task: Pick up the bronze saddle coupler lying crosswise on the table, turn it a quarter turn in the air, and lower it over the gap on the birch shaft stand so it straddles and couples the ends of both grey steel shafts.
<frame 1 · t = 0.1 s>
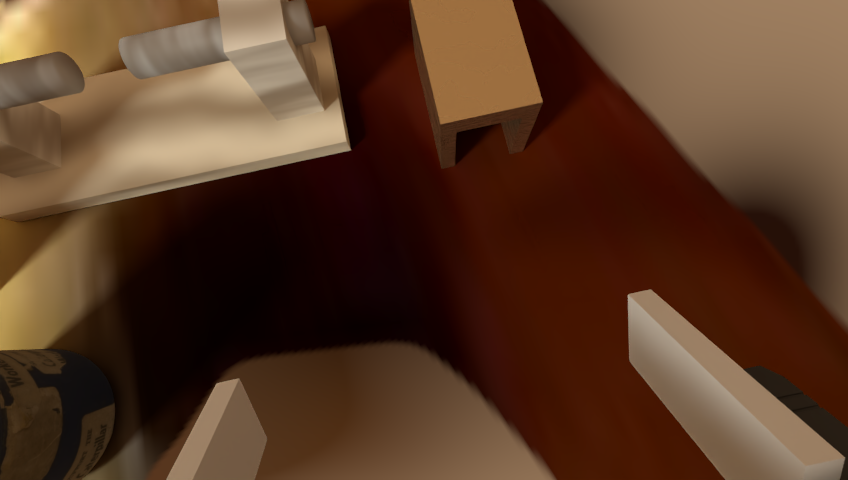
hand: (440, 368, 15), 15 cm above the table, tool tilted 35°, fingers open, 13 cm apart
canister: (62, 418, 30), on the table
shaft rig: (178, 127, 34), on the table
coupler: (467, 101, 34), on the table
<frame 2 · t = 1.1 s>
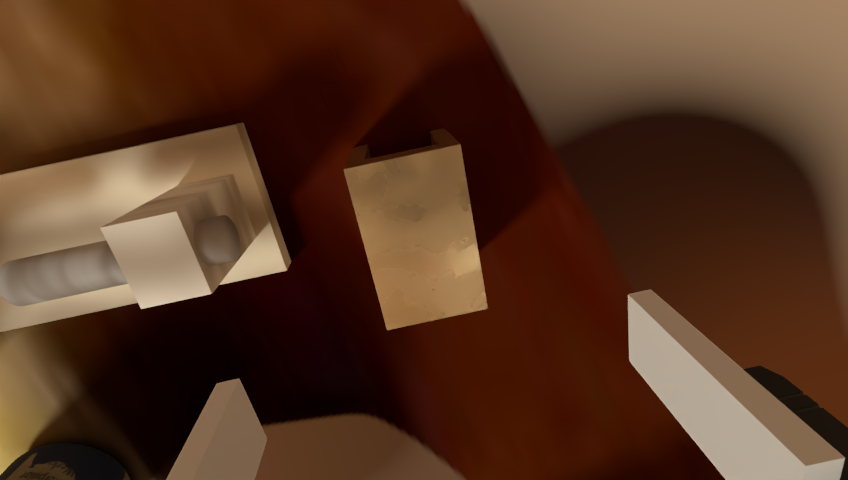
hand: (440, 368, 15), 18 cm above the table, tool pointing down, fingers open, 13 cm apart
canister: (82, 473, 37), on the table
shaft rig: (82, 236, 30), on the table
coupler: (413, 207, 31), on the table
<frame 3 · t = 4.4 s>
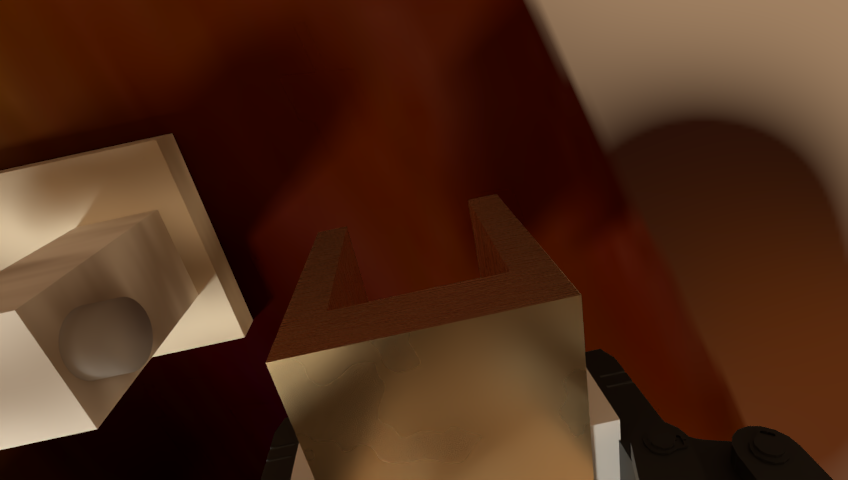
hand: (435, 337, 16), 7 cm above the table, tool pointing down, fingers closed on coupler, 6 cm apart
coupler: (434, 334, 17), point 6 cm above the table, touching gripper
when the fingers open (4 cm above the table, at t = 8.7 s): coupler stays where it is, resting on shaft rig.
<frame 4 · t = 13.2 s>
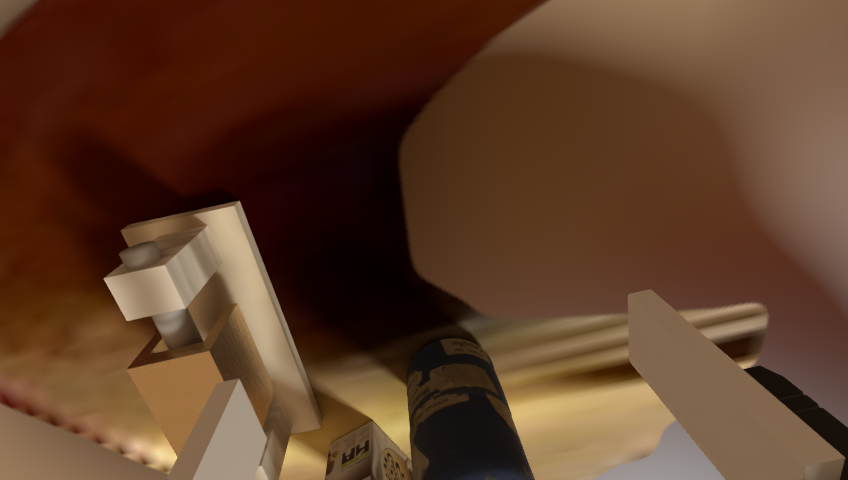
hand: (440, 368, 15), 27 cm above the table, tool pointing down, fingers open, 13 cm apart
coffee box: (372, 453, 52), on the table
canister: (448, 367, 48), on the table
shaft rig: (237, 332, 44), on the table
coupler: (224, 355, 41), point 4 cm above the table, touching shaft rig
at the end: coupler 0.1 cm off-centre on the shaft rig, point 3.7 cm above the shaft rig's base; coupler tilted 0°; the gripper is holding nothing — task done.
